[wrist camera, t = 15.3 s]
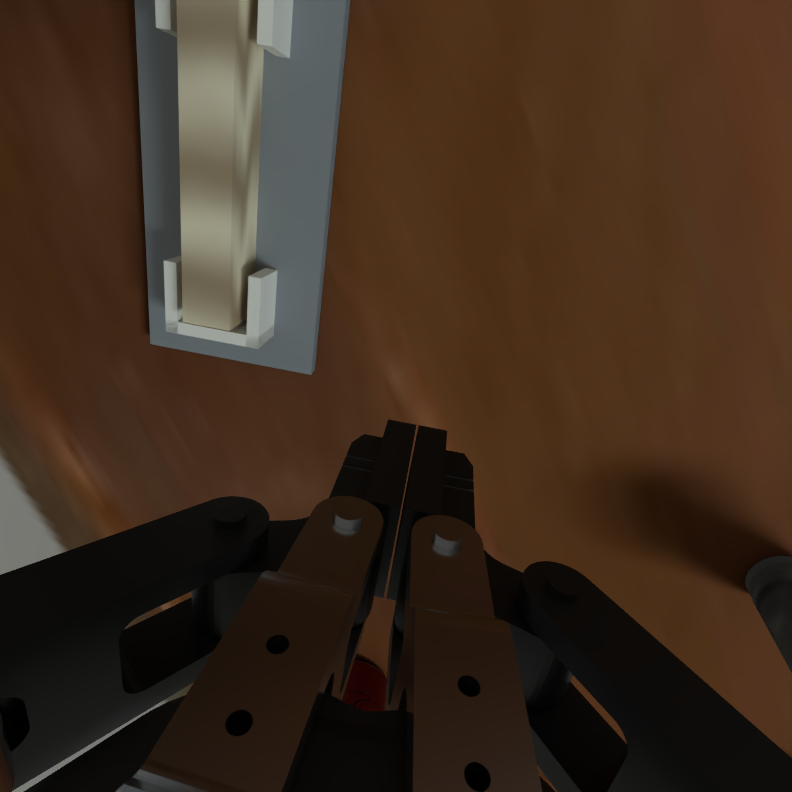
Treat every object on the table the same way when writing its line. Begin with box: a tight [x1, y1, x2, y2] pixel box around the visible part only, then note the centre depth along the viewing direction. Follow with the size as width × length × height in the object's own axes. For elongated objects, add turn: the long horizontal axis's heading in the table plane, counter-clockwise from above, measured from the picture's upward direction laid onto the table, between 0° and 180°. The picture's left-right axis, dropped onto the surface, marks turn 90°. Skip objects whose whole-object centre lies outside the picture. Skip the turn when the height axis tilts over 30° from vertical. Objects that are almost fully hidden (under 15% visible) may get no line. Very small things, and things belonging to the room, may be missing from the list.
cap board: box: [135, 0, 350, 375], centre depth 31 cm, size 26×12×4 cm, turn 171°
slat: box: [176, 0, 264, 331], centre depth 30 cm, size 18×3×4 cm, turn 171°
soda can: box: [342, 659, 387, 711], centre depth 45 cm, size 7×7×12 cm
